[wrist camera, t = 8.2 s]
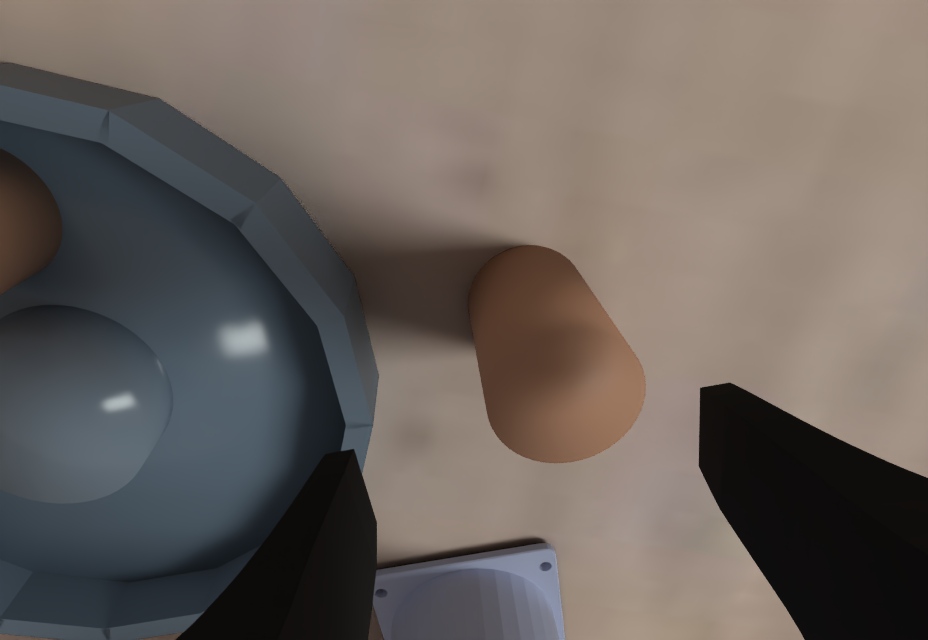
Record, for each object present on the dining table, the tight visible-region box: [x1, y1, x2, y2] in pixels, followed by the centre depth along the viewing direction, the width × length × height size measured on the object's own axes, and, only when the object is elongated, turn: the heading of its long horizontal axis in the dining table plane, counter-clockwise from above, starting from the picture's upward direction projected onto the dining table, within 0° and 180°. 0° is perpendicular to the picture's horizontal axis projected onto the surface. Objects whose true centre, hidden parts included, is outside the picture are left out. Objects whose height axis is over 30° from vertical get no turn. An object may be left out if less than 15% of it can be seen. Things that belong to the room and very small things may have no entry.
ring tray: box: [0, 63, 379, 640], centre depth 19 cm, size 19×19×3 cm
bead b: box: [468, 246, 646, 463], centre depth 17 cm, size 4×4×6 cm
